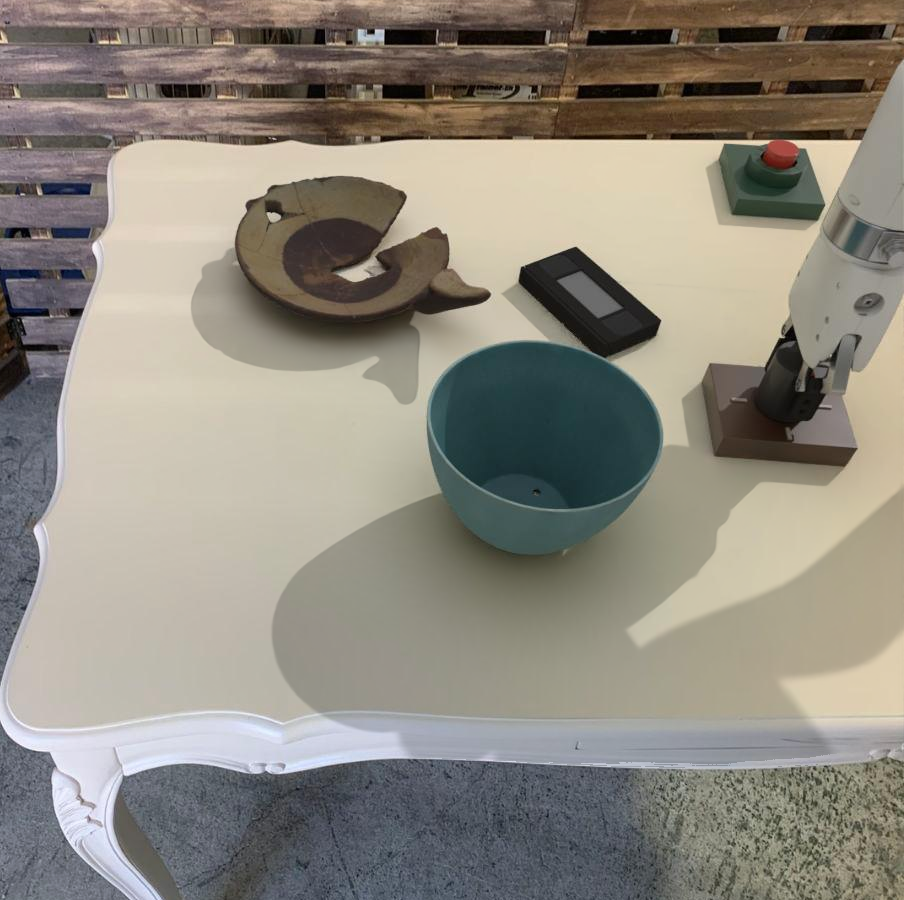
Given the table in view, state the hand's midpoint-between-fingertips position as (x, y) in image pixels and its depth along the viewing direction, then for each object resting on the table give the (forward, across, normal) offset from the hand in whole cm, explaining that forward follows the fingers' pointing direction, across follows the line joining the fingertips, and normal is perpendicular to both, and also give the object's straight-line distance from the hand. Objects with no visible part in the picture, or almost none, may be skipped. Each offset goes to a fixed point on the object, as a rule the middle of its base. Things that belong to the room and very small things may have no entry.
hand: (786, 393), depth 83 cm
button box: (+4, +40, -6) cm, 41 cm away
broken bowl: (+4, +15, +42) cm, 45 cm away
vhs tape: (+4, +15, +17) cm, 23 cm away
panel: (+4, 0, 0) cm, 4 cm away
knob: (+1, 0, 0) cm, 1 cm away
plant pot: (+4, -14, +24) cm, 28 cm away
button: (0, +40, -6) cm, 40 cm away
